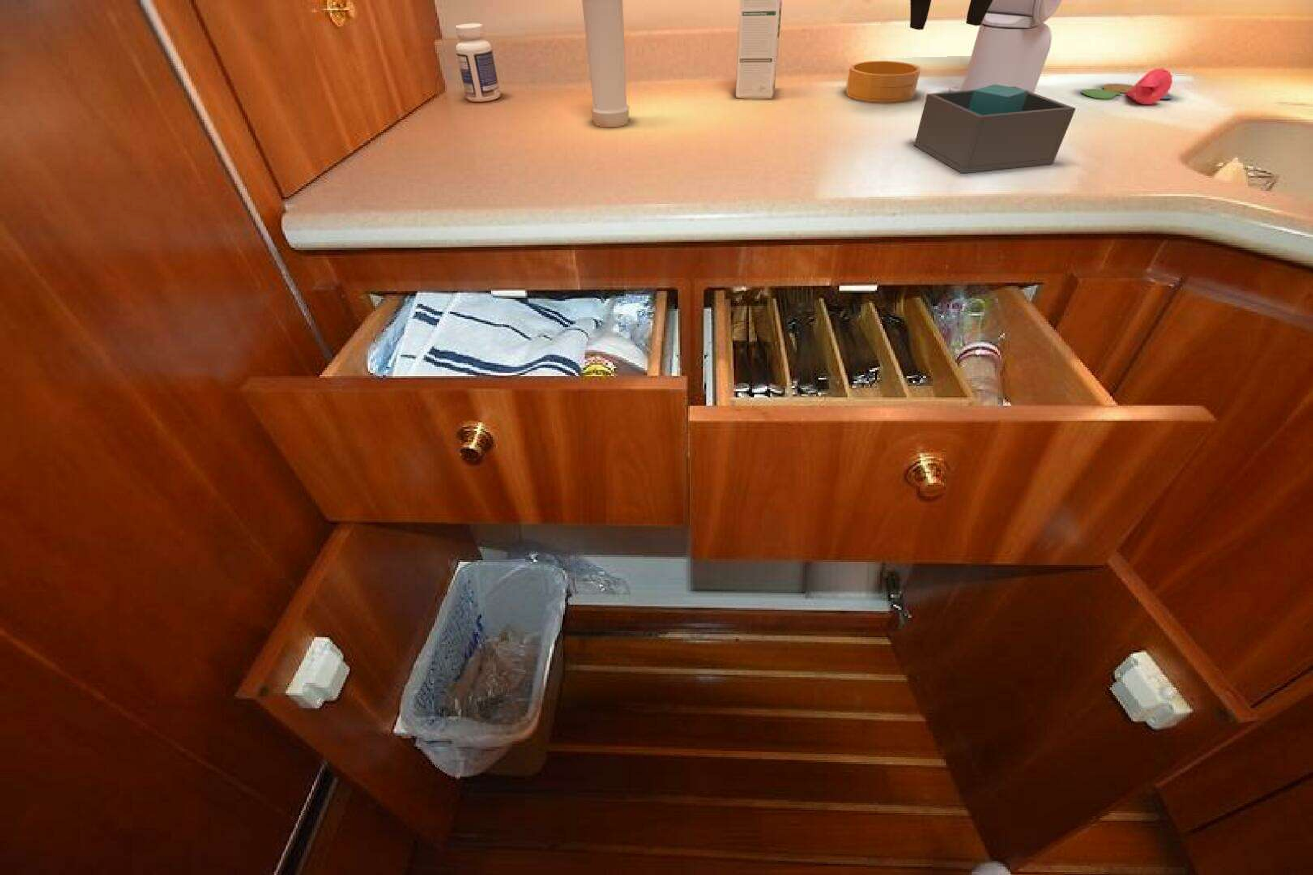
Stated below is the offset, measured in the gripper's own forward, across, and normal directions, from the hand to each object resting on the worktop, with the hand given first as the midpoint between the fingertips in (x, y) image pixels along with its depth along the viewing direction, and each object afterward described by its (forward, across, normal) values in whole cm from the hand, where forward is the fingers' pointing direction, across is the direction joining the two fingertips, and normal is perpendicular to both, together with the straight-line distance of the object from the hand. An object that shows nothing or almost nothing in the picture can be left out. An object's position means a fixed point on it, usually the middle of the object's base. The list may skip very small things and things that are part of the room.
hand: (944, 26), depth 72 cm
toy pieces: (+11, +34, +2) cm, 36 cm away
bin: (+10, -1, -15) cm, 18 cm away
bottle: (+11, -41, +11) cm, 44 cm away
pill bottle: (+11, -59, +31) cm, 67 cm away
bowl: (+10, +1, +14) cm, 17 cm away
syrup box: (+11, -17, +20) cm, 28 cm away
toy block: (+10, -1, -15) cm, 18 cm away
